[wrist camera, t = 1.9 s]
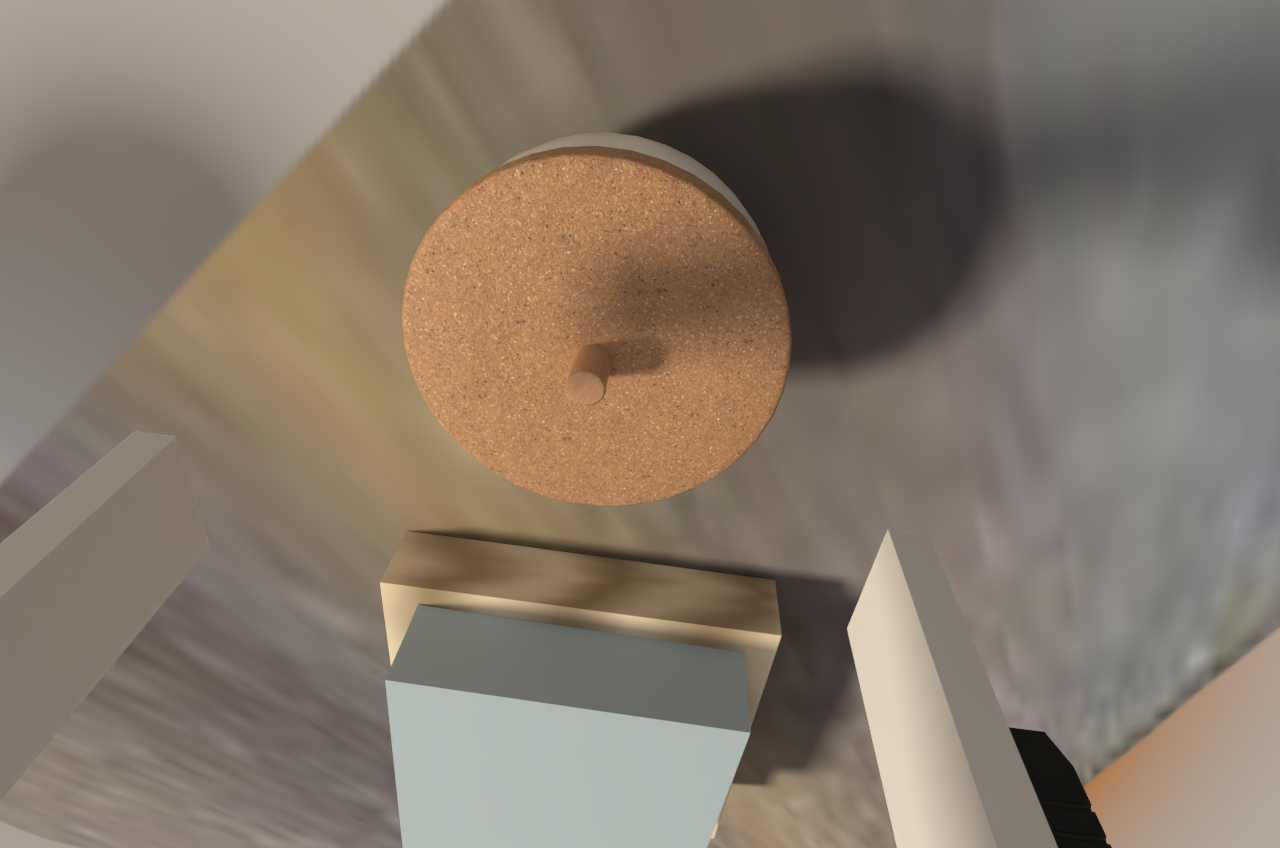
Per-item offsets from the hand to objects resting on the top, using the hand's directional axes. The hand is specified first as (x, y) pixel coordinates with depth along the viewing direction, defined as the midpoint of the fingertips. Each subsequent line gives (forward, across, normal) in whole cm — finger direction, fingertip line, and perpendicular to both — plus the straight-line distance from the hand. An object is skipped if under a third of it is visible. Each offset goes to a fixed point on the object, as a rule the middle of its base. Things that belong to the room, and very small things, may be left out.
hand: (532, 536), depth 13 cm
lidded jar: (+15, 0, 0) cm, 15 cm away
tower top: (+12, 0, -24) cm, 26 cm away
